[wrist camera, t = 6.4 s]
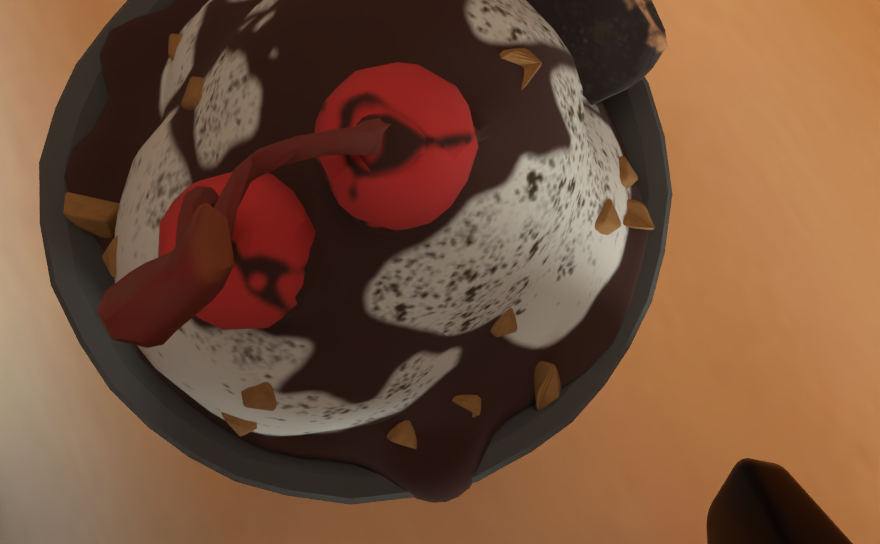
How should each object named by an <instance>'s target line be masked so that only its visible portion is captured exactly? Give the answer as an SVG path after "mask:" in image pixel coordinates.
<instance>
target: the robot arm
mask: <svg viewBox="0 0 880 544" xmlns="http://www.w3.org/2000/svg"><path fill="white" fill-rule="evenodd" d="M707 542H708V544H852V542H851V541H850V540H849V539H848V538H847V537H846V536H845V535H844V534H843V532H842V531H841V530H840V529H839V528H838V527H837V526H836V525H835V524H834V522H833V521H832V520H831V519H830V518H829V517H828V516H827V515H826V514H825V512H824V511H823V510H822V509H821V508H820V507H819V506H818V505H817V504H816V502H815V501H814V500H813V499H812V498H811V497H810V496H809V495H808V494H807V492H806V491H805V490H804V489H803V488H802V487H801V486H800V485H799V484H798V482H797V481H796V480H795V479H794V478H793V477H792V476H791V475H790V474H789V472H788V471H787V470H785V469H784V468H783V467H782V466H780V465H778V464H775V463H770V462H765V461H760V460H755V459H750V458H746V459H742V460H740V461H739V462H737V464H736V465H735V466H734V468H733V469H732V471H731V473H730V474H729V476H728V477H727V479H726V481H725V482H724V484H723V486H722V487H721V489H720V491H719V492H718V494H717V495H716V497H715V499H714V500H713V502H712V504H711V506H710V509H709V512H708V517H707Z"/></svg>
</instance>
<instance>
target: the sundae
mask: <svg viewBox="0 0 880 544" xmlns="http://www.w3.org/2000/svg"><path fill="white" fill-rule="evenodd" d="M666 46H667V41H666V34H665V29H664V27H663V25H662V22H661V20H660V18H659V16H658V13H657V11H656V9H655V7H654V5H653V2H652V0H127V2H126V3H125V4H124V5H123V6H122V7H121V8H120V10H119V11H118V12H117V13H116V14H115V15H114V16H113V18H112V19H111V20H110V21H109V22H108V23H107V24H106V25H105V27H104V28H103V29H102V31H101V32H100V33H99V35H98V36H97V37H96V39H95V40H94V41H93V43H92V44H91V45H90V47H89V48H88V49H87V51H86V52H85V53H84V55H83V56H82V57H81V59H80V60H79V61H78V63H77V64H76V66H75V68H74V70H73V72H72V74H71V76H70V78H69V80H68V83H67V85H66V87H65V89H64V91H63V93H62V95H61V97H60V99H59V102H58V104H57V106H56V109H55V112H54V115H53V119H52V122H51V125H50V129H49V132H48V135H47V139H46V142H45V145H44V149H43V152H42V155H41V159H40V162H39V181H40V226H41V232H42V237H43V243H44V248H45V254H46V260H47V265H48V271H49V276H50V282H51V286H52V288H53V290H54V292H55V294H56V296H57V298H58V300H59V302H60V304H61V306H62V308H63V310H64V312H65V315H66V317H67V319H68V321H69V323H70V325H71V327H72V329H73V331H74V333H75V335H76V337H77V339H78V341H79V343H80V345H81V346H82V348H83V349H84V351H85V352H86V354H87V355H88V357H89V358H90V360H91V361H92V363H93V364H94V366H95V367H96V369H97V370H98V372H99V373H100V375H101V376H102V378H103V379H104V381H105V382H106V384H107V385H108V387H109V388H110V390H111V391H112V392H113V393H114V394H115V395H116V396H117V397H118V398H119V399H120V400H121V401H122V402H124V403H125V404H126V405H127V406H128V407H129V408H130V409H131V410H132V411H133V412H134V413H135V414H136V415H137V416H138V417H139V418H140V419H141V420H142V421H143V422H144V423H145V424H146V425H147V426H148V427H149V428H150V429H152V430H153V431H154V432H156V433H157V434H158V435H160V436H161V437H162V438H164V439H165V440H167V441H168V442H169V443H171V444H172V445H173V446H175V447H176V448H177V449H179V450H180V451H182V452H183V453H184V454H186V455H187V456H188V457H190V458H192V459H194V460H196V461H198V462H199V463H201V464H203V465H205V466H207V467H209V468H211V469H213V470H215V471H217V472H218V473H220V474H222V475H224V476H226V477H228V478H230V479H232V480H234V481H236V482H239V483H243V484H247V485H250V486H254V487H258V488H261V489H265V490H269V491H272V492H276V493H280V494H284V495H288V496H295V497H302V498H309V499H316V500H323V501H330V502H337V503H344V504H358V503H367V502H376V501H385V500H393V499H402V498H411V497H415V498H417V499H421V500H425V501H429V502H447V501H449V500H451V499H454V498H456V497H459V496H460V495H461V494H462V493H464V492H465V491H466V490H467V489H469V488H470V486H471V485H472V483H473V482H477V481H479V480H481V479H483V478H485V477H486V476H488V475H490V474H492V473H494V472H495V471H497V470H499V469H501V468H503V467H505V466H506V465H508V464H510V463H512V462H514V461H515V460H517V459H519V458H521V457H523V456H524V455H526V454H528V453H530V452H532V451H533V450H535V449H536V448H537V447H539V446H540V445H541V444H543V443H544V442H545V441H547V440H548V439H550V438H551V437H552V436H554V435H555V434H556V433H558V432H559V431H561V430H562V429H563V428H565V427H566V426H567V425H569V424H570V423H572V422H573V420H574V419H575V418H576V417H577V416H578V415H579V414H580V413H581V411H582V410H583V409H584V408H585V407H586V406H587V405H588V403H589V402H590V401H591V400H592V399H593V398H594V397H595V396H596V394H597V393H598V392H599V391H600V390H601V389H602V388H603V386H604V385H605V384H606V382H607V381H608V379H609V378H610V376H611V375H612V373H613V372H614V370H615V369H616V367H617V365H618V364H619V362H620V361H621V359H622V358H623V356H624V355H625V353H626V352H627V350H628V349H629V347H630V345H631V343H632V341H633V339H634V337H635V335H636V333H637V331H638V329H639V327H640V325H641V323H642V321H643V319H644V316H645V314H646V312H647V310H648V308H649V306H650V304H651V302H652V298H653V295H654V291H655V287H656V283H657V279H658V276H659V272H660V268H661V264H662V260H663V256H664V252H665V245H666V237H667V230H668V222H669V214H670V207H671V199H672V189H671V181H670V174H669V166H668V159H667V151H666V144H665V136H664V133H663V130H662V126H661V123H660V120H659V117H658V113H657V110H656V107H655V103H654V100H653V97H652V93H651V90H650V87H649V84H648V82H647V80H646V78H645V77H644V76H645V75H646V74H647V73H648V72H649V71H650V70H651V69H652V68H653V67H654V65H655V63H656V62H657V60H658V59H659V57H660V56H661V54H662V53H663V51H664V49H665V48H666Z"/></svg>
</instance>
